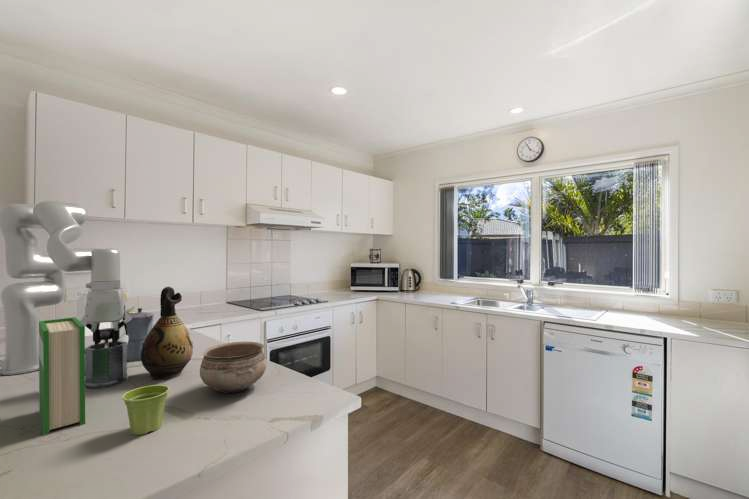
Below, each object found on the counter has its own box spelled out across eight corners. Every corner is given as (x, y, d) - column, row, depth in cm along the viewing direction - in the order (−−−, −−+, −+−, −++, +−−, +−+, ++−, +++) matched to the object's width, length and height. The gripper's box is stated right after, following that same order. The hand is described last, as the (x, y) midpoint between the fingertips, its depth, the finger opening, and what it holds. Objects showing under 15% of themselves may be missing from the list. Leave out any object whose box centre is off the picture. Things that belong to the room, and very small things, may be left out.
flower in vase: (141, 340, 168) (140, 288, 168) (146, 344, 160) (146, 290, 160) (107, 345, 159) (106, 290, 159) (111, 350, 151) (111, 292, 151)
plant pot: (137, 420, 87) (137, 385, 88) (176, 418, 88) (176, 383, 88) (112, 440, 78) (112, 401, 78) (156, 437, 79) (156, 399, 79)
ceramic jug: (200, 374, 120) (199, 287, 121) (148, 387, 109) (147, 291, 109) (182, 363, 132) (182, 284, 132) (134, 374, 121) (133, 287, 121)
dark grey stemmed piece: (88, 378, 109) (88, 332, 109) (97, 371, 116) (97, 328, 116) (116, 375, 112) (115, 330, 112) (123, 368, 118) (123, 326, 118)
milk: (111, 331, 188) (110, 283, 188) (84, 336, 178) (84, 285, 178) (101, 329, 194) (101, 282, 194) (75, 333, 185) (75, 284, 185)
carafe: (68, 392, 106) (67, 352, 106) (83, 379, 116) (83, 343, 116) (121, 385, 110) (121, 347, 110) (131, 374, 121) (131, 339, 121)
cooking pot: (281, 393, 103) (280, 351, 103) (213, 412, 91) (212, 365, 91) (250, 371, 122) (249, 336, 122) (190, 385, 110) (190, 346, 110)
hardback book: (85, 423, 86) (84, 325, 86) (43, 435, 81) (43, 331, 81) (75, 402, 98) (75, 317, 98) (39, 411, 93) (38, 321, 93)
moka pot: (143, 363, 133) (143, 310, 133) (110, 360, 136) (109, 309, 137) (163, 355, 143) (163, 306, 143) (131, 353, 146) (131, 305, 146)
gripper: (68, 288, 107) (69, 348, 107) (133, 286, 113) (133, 343, 113) (79, 286, 114) (79, 342, 114) (139, 284, 120) (139, 337, 120)
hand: (106, 342), depth 114 cm, fingers closed on dark grey stemmed piece, 4 cm apart
